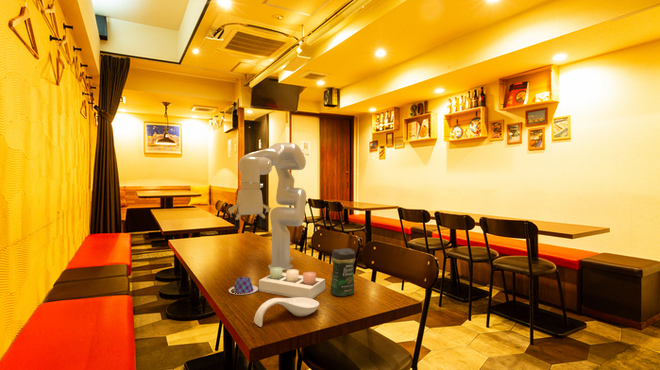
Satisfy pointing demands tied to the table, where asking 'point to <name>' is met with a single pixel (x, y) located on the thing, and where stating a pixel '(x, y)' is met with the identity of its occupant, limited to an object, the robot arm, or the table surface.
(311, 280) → the pink round cup
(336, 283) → the coffee jar
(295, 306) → the spoon rest
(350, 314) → the table surface
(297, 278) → the cream button
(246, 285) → the pudding
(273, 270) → the sage button
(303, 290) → the white compartment tray
